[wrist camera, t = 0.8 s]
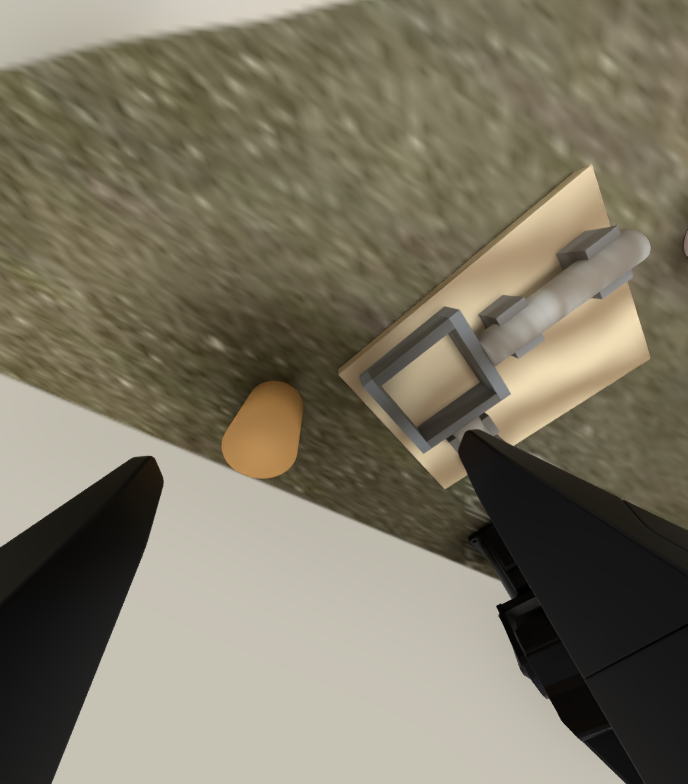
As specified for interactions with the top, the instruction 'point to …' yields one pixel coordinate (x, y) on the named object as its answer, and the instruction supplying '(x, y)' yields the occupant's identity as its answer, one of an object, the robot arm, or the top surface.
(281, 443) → the tan rounded piece
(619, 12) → the top surface
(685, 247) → the smoothie
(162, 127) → the top surface
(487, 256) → the shaft board
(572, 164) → the top surface
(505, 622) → the robot arm
